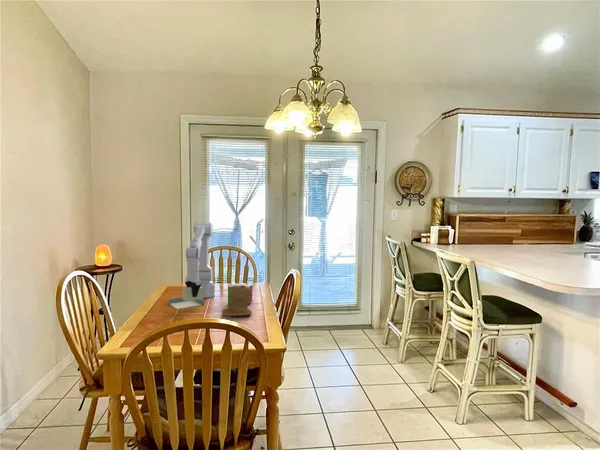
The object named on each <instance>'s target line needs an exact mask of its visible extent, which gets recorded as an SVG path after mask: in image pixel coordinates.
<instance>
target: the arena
mask: <svg viewBox="0 0 600 450" xmlns="http://www.w3.org/2000/svg"><path fill="white" fill-rule="evenodd" d="M204 299H205V298H203V299H198V300H192V301H185V300H183V296H177V297H171V298H168V305H169V306H171V307H172V308H173V309H175V310H182V309H183V310H184V309H189V308H194V307H200V306H204V305H205V300H204Z"/></svg>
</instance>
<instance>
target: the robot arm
mask: <svg viewBox="0 0 600 450" xmlns="http://www.w3.org/2000/svg"><path fill="white" fill-rule="evenodd" d="M193 232H194V234H195V235H194V237H193V238H192V239H191V241H190V244H189V245H188V246H189V247H188V248H186V249H185V258H186V264H187V267H186V268H187V269H186V270H187V273H186V276H185V278H184V284H185V286H186V288H187V287H191V290H192V296H193V297H197V295H198V291H199V288H200V287H202V288H203V299H207V298H212V297H215V283H214V281H213V277H214V276H213V275H214V274H213V267H211V266H210V265H209V264H208V263H209V240H210V238H211V237H212V236H213V224H212V223H211V222H196V221H195V222H194V223H193Z"/></svg>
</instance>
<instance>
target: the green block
mask: <svg viewBox="0 0 600 450" xmlns="http://www.w3.org/2000/svg"><path fill="white" fill-rule="evenodd" d="M182 297H183V300H185V301H192V300H198V299H204V298H203V288H202V287H200V288H199V291H198V295H197V297H193V296H192V290H191V287H187V286H186V287H183V288H182Z"/></svg>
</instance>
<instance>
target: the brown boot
mask: <svg viewBox="0 0 600 450" xmlns="http://www.w3.org/2000/svg"><path fill="white" fill-rule="evenodd" d="M230 286H231V288H230V300H231V305H230V306H228V307H227V308H226V307H225V308H223V309H222V310H221V317H241V316H250V315H252V314H253V312H252V310H251V309H250V308H249V307H248V305H249V304H248V301H249V298H250V287H248V286H238V285H237V286H232V285H230Z"/></svg>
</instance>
